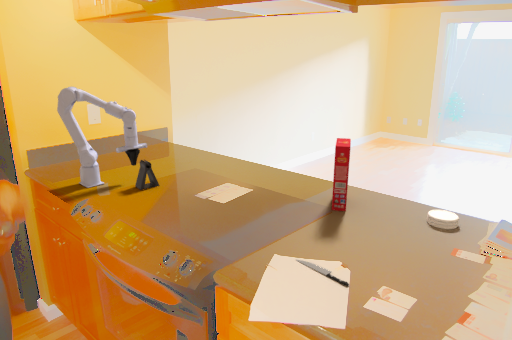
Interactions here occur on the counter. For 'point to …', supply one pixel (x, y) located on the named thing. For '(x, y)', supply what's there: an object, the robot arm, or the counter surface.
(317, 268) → the chef's knife
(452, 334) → the counter surface
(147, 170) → the door stopper
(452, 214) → the coaster
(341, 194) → the food packaging
